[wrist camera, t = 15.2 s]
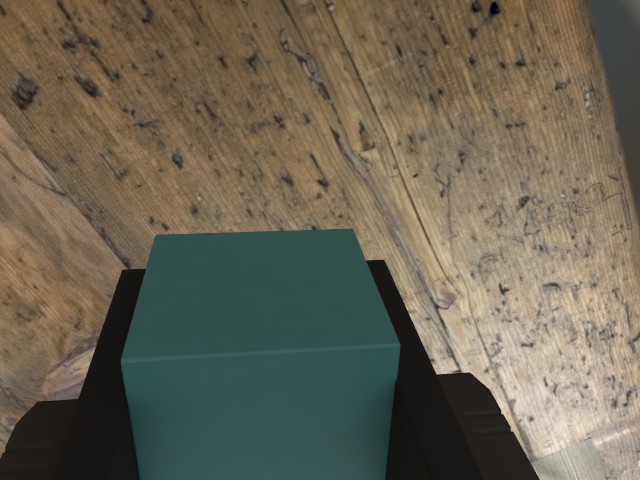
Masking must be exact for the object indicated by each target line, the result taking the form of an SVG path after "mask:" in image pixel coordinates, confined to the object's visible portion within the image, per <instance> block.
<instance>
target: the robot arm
mask: <svg viewBox="0 0 640 480" xmlns="http://www.w3.org/2000/svg"><path fill="white" fill-rule="evenodd" d="M366 262H367V265H368V267H369V269H370V272H371V274H372V277H373V279H374V282H375V284H376V286H377V289H378V291H379V294H380V296H381V299H382V301H383V303H384V306H385V308H386V311H387V313H388V316H389V318H390V321H391V323H392V325H393V328H394V330H395V333H396V335H397V338H398V340H399V342H400V345H401V346H400V355H399V365H398V374H397V380H396V381H395V389H394V398H393V408H392V417H391V427H390V436H389V446H388V455H387V464H386V474H385V480H540V479H539V477H538V476H537V474H536V472H535V470H534V468H533V467H532V465H531V463H530V461H529V459H528V458H527V456H526V454H525V452H524V451H523V449H522V447H521V445H520V443H519V442H518V440H517V438H516V436H515V434H514V433H513V432H511V429H510V425H509V424H508V422H507V420H506V418H505V416H504V415H503V414H501V409H500V407H499V406H498V404H497V402H496V400H495V398H494V397H493V395H492V393H491V391H490V390H489V389H488V388H487V387H486V386H485V385H484V384H482V383H481V382H480V381H479V380H478V379H477V378H475V377H474V376H473V375H472V374H471V373H454V374H438V375H436V372H435V370H434V368H433V366H432V364H431V362H430V359H429V357H428V355H427V353H426V351H425V348H424V346H423V344H422V342H421V340H420V337H419V335H418V333H417V331H416V329H415V326H414V324H413V322H412V320H411V318H410V315H409V313H408V311H407V309H406V307H405V304H404V302H403V300H402V298H401V296H400V293H399V291H398V289H397V287H396V285H395V282H394V280H393V278H392V276H391V274H390V271H389V269H388V267H387V265H386V263H385V261H384V260H367V261H366ZM145 271H146V269H129V270H122V272H121V275H120V278H119V281H118V284H117V287H116V290H115V293H114V296H113V299H112V302H111V305H110V307H109V310H108V313H107V316H106V319H105V322H104V325H103V328H102V331H101V334H100V337H99V340H98V343H97V346H96V349H95V352H94V355H93V357H92V360H91V363H90V366H89V369H88V372H87V375H86V378H85V381H84V384H83V387H82V390H81V393H80V396H79V399H72V400H56V401H40V402H37V403H36V404H35V405H34V406H33V407H32V408H31V409H30V410H29V411H28V412H27V413H26V414H25V415H24V416H23V417H22V418H21V419H20V420H19V421H18V422H17V423H16V425H15V427H14V429H13V432H12V434H11V436H10V438H9V441H8V443H7V445H6V447H5V453H3V454H2V456H1V458H0V480H139V475H138V468H137V462H136V455H135V449H134V442H133V436H132V430H131V423H130V417H129V410H128V404H127V397H126V393H125V387H124V380H123V374H122V367H121V358H122V354H123V350H124V347H125V343H126V340H127V336H128V332H129V329H130V325H131V321H132V318H133V314H134V311H135V307H136V303H137V300H138V296H139V293H140V289H141V285H142V282H143V278H144V274H145Z"/></svg>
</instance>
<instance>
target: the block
mask: <svg viewBox="0 0 640 480" xmlns="http://www.w3.org/2000/svg"><path fill="white" fill-rule="evenodd" d="M400 346H401V345H400V342H399V340H398V338H397V335H396V333H395V330H394V328H393V325H392V323H391V321H390V318H389V316H388V313H387V311H386V308H385V306H384V303H383V301H382V299H381V296H380V294H379V291H378V289H377V286H376V284H375V282H374V279H373V277H372V274H371V272H370V269H369V267H368V265H367V262H366V260H365V257H364V255H363V252H362V250H361V247H360V245H359V243H358V240H357V238H356V235H355V233H354V230H353V229H329V230H297V231H265V232H233V233H201V234H169V235H156V236H155V238H154V242H153V246H152V249H151V253H150V256H149V260H148V264H147V267H146V271H145V274H144V278H143V282H142V285H141V289H140V293H139V296H138V300H137V303H136V307H135V311H134V314H133V318H132V321H131V325H130V329H129V332H128V336H127V340H126V343H125V347H124V350H123V354H122V358H121V367H122V374H123V380H124V387H125V393H126V397H127V404H128V410H129V417H130V423H131V430H132V436H133V442H134V449H135V455H136V462H137V468H138V475H139V480H385V474H386V464H387V455H388V446H389V436H390V427H391V417H392V408H393V398H394V389H395V381H396V380H397V374H398V365H399V355H400Z"/></svg>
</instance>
